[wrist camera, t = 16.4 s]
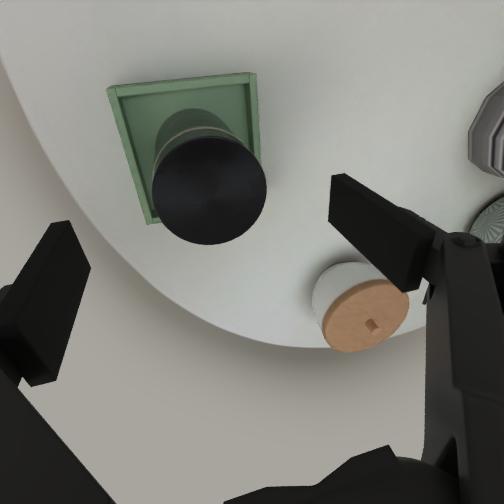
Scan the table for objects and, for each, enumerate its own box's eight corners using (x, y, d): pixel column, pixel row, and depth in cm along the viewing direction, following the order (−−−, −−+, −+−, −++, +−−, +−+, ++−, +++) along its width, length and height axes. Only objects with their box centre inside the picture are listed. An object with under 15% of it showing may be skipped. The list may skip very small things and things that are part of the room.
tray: (148, 213, 30) (146, 225, 28) (110, 85, 24) (106, 88, 22) (257, 195, 32) (263, 205, 30) (248, 72, 26) (256, 73, 24)
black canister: (165, 193, 29) (166, 255, 20) (145, 112, 25) (135, 144, 16) (237, 181, 30) (270, 235, 21) (229, 102, 26) (264, 127, 17)
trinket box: (329, 320, 46) (363, 374, 38) (284, 289, 40) (313, 345, 33) (386, 272, 43) (434, 319, 36) (345, 232, 38) (392, 277, 30)
